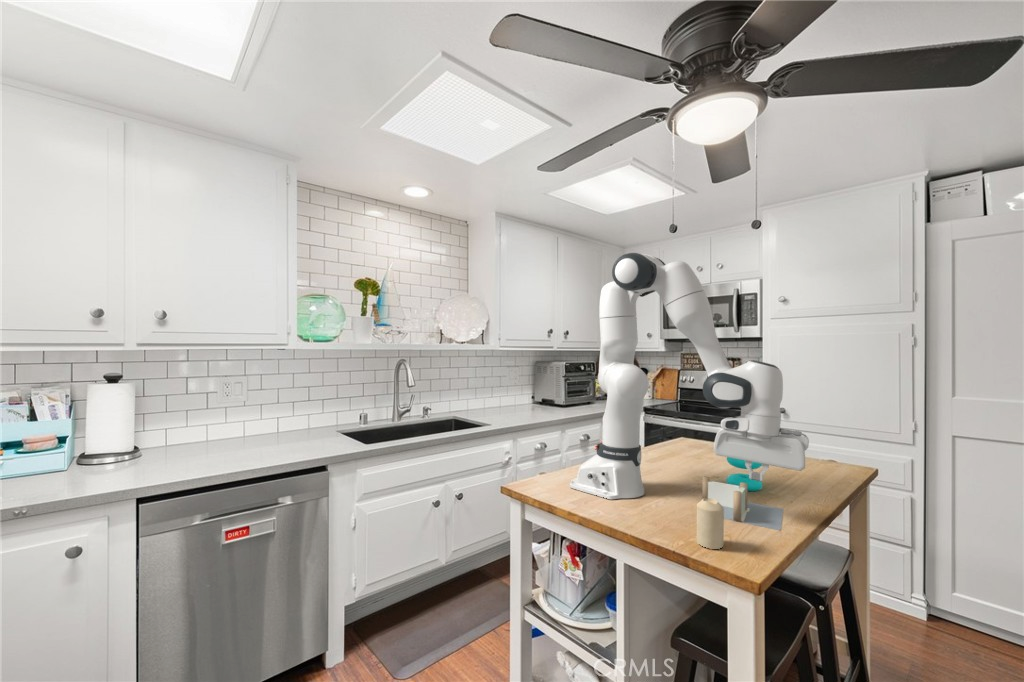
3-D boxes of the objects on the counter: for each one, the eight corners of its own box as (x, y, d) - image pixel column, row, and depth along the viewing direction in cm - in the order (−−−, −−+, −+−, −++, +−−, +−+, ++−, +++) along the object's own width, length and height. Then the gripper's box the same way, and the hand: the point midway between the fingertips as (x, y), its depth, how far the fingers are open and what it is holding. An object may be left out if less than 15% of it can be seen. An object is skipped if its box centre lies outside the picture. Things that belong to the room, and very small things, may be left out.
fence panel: (738, 508, 119) (739, 483, 119) (746, 510, 118) (746, 484, 118) (732, 519, 111) (732, 492, 111) (740, 521, 110) (740, 493, 110)
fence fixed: (701, 502, 124) (701, 477, 124) (702, 500, 126) (703, 475, 126) (746, 511, 118) (747, 485, 118) (747, 509, 119) (747, 483, 119)
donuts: (734, 459, 134) (721, 451, 144) (733, 492, 134) (721, 481, 144) (768, 460, 133) (753, 452, 143) (768, 493, 133) (753, 483, 143)
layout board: (696, 514, 116) (696, 512, 116) (708, 495, 131) (708, 494, 131) (780, 531, 106) (780, 530, 106) (783, 509, 120) (783, 508, 120)
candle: (715, 552, 95) (715, 506, 95) (691, 543, 99) (692, 498, 100) (728, 545, 98) (728, 501, 98) (705, 536, 103) (705, 494, 103)
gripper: (809, 431, 108) (805, 487, 108) (718, 417, 119) (715, 468, 119) (809, 434, 103) (804, 493, 103) (714, 420, 114) (710, 473, 114)
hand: (755, 480), depth 111 cm, fingers closed
